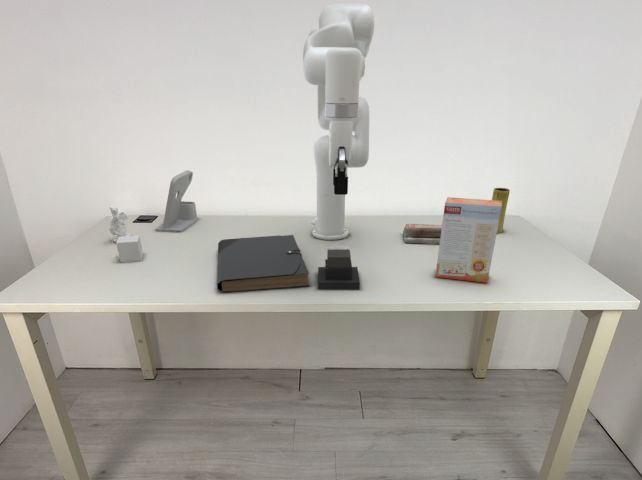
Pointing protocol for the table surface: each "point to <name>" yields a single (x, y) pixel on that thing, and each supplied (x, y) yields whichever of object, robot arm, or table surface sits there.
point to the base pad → (338, 280)
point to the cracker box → (468, 238)
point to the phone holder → (179, 205)
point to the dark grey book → (260, 264)
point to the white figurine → (118, 222)
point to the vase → (503, 196)
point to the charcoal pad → (338, 272)
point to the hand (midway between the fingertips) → (340, 189)
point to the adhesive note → (129, 248)
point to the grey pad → (338, 258)
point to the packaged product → (422, 233)
